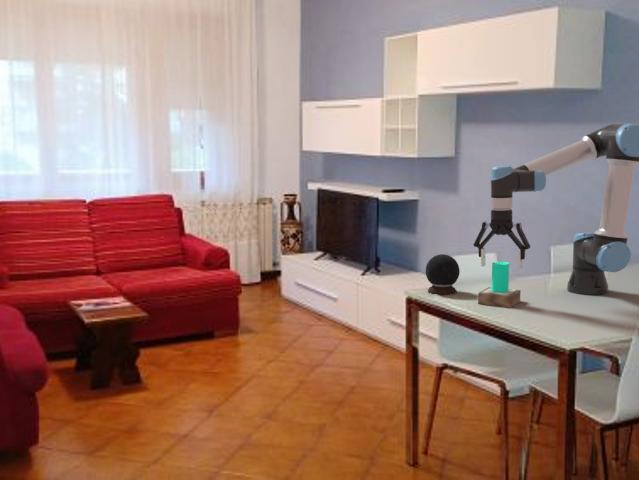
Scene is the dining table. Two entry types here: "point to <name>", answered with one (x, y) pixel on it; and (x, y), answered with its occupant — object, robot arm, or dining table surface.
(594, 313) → the dining table surface
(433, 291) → the smart speaker
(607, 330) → the dining table surface
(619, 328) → the dining table surface
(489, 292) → the plinth
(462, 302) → the dining table surface
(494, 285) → the candle
